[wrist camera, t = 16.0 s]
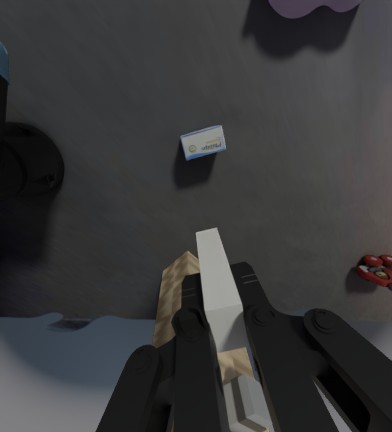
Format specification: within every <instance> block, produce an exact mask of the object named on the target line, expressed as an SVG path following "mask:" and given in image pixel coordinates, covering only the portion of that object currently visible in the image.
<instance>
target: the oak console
mask: <svg viewBox="0 0 392 432" xmlns="http://www.w3.org/2000/svg"><path fill="white" fill-rule="evenodd" d="M195 273H200V265H199V260H198V259H197V258H196V257H195V256H193V255H192V254H191V253H190V252H189V251H187V252H185V253H184V254H183V255H182V256H181V257H179V258H178V259H177V260H176V261H175V262H173V263H172V264H171V265H170V266H169V267H167V268H166V269H165V270H164V271H163V275H162V282H161V289H160V295H159V302H158V308H157V315H156V322H155V329H154V335H153V341H152V346H155V348H158V347H160V346H162V345H163V344H165V343H167V342H168V341H170V340H171V339H172V338H173V337H174V336H175V335H176V334H175V332H174V329H173V327H172V324H171V321H172V317H173V316H174V314H175V313H176V311H178V310H179V309H180V308H181V292H182V291H181V284H182V281H183V279H184V277H185V276H186V275H191V274H195ZM217 356H218V362H219V365H220V369H221V375H222V382H223V386H224V385H226V384H228V383H230V382H231V379H233V378H235V377H236V376H237V377H240V376H242V375H243V374H246V375H248V376H249V377H251V378H252V379H254V375H253V372H252V368H251V365H250V361H249V357H248V354H247V350H246V347H245V348H240V349H235V350H230V351H225V352H221V353H217ZM254 380H255V379H254ZM173 427H174V420H173V425H172V430H171V432H173ZM266 429H267V430H266V431H263V432H269V428H268V427H267V428H266ZM230 432H231V431H230Z"/></svg>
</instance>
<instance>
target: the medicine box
mask: <svg viewBox="0 0 392 432" xmlns="http://www.w3.org/2000/svg"><path fill="white" fill-rule="evenodd" d="M180 140H181V144H182V147H183V151H184V155H185V159H186V160H190V159H194V158H197V157H201V156H204V155H208V154H211V153H215V152H219V151H222V150H226V145H225V140H224V135H223V130H222V126H212V127H209V128H205V129H202V130H198V131H195V132H192V133H188V134H185V135H182V136H181V137H180Z"/></svg>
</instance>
